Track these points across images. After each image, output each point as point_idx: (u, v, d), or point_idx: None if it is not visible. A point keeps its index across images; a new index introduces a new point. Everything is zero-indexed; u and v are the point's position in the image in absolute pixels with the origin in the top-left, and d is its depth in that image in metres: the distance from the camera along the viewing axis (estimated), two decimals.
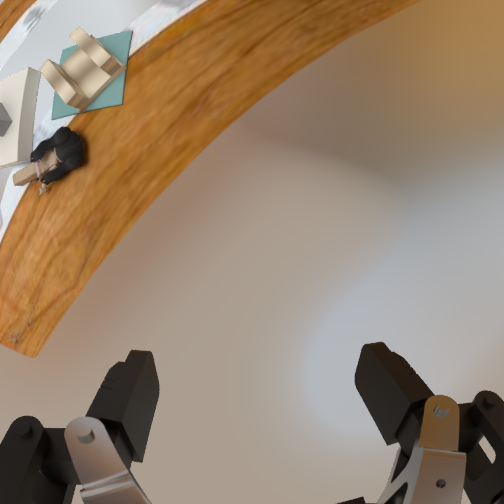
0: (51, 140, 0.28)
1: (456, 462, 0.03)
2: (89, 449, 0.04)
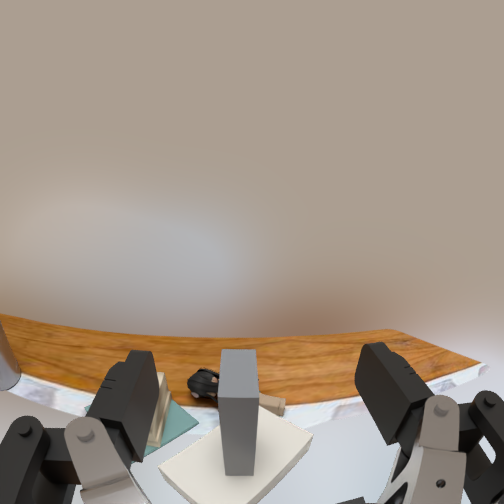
0: (206, 383, 0.36)
1: (456, 462, 0.03)
2: (89, 449, 0.04)
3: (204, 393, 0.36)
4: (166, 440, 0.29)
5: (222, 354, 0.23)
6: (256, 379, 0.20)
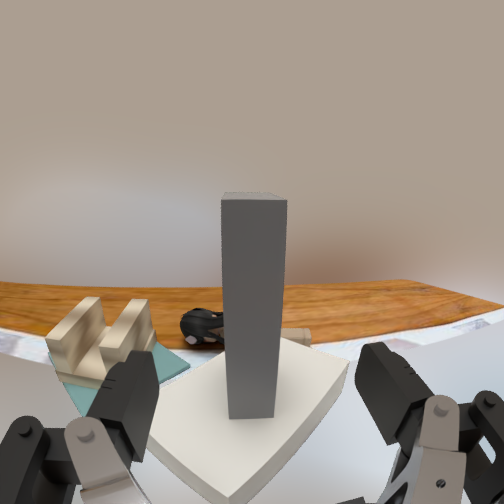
0: (207, 318, 0.30)
1: (456, 462, 0.03)
2: (89, 449, 0.04)
3: (205, 332, 0.29)
4: None
5: (226, 193, 0.17)
6: (277, 196, 0.15)
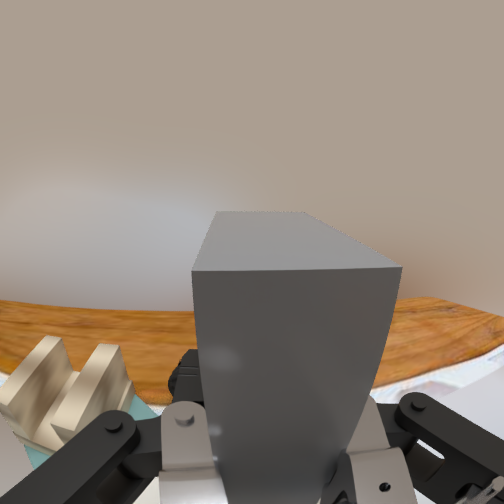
0: None
1: (393, 461, 0.04)
2: (195, 432, 0.05)
3: None
4: None
5: (218, 214, 0.09)
6: (345, 236, 0.06)
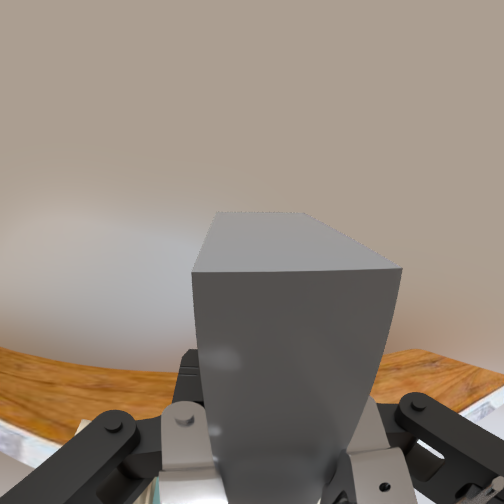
0: None
1: (393, 461, 0.04)
2: (195, 432, 0.05)
3: None
4: None
5: (218, 215, 0.09)
6: (345, 237, 0.06)
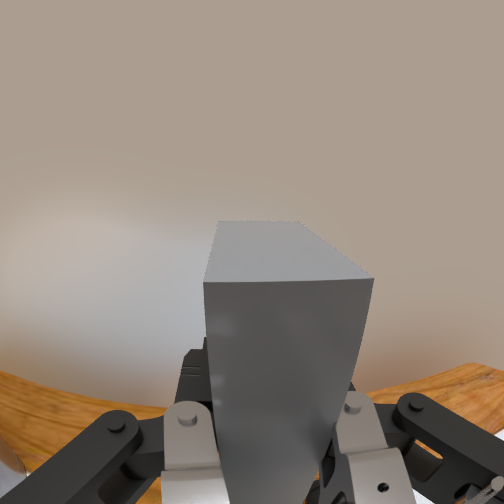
0: None
1: (391, 461, 0.04)
2: (198, 431, 0.05)
3: None
4: None
5: (220, 224, 0.09)
6: (331, 248, 0.07)
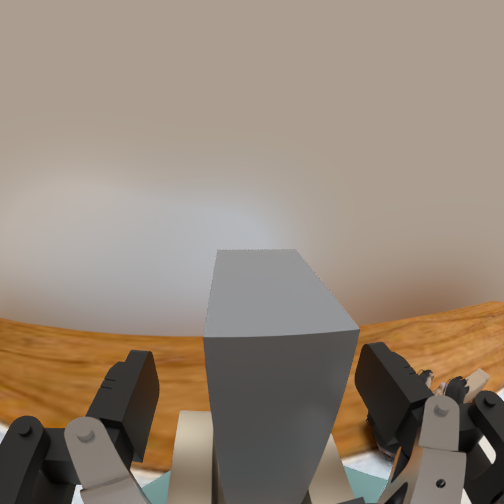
0: None
1: (456, 462, 0.03)
2: (89, 449, 0.04)
3: None
4: None
5: (219, 255, 0.10)
6: (324, 289, 0.07)
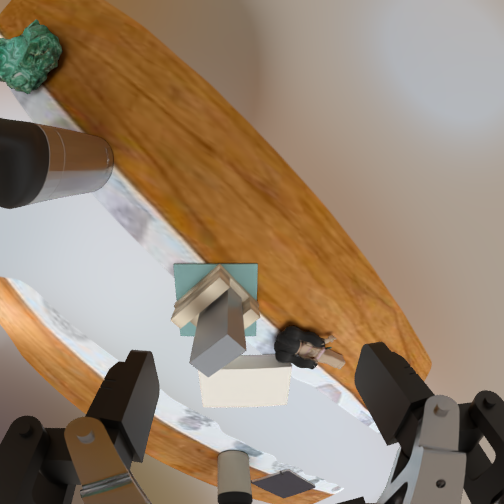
0: (292, 361, 0.44)
1: (456, 462, 0.03)
2: (89, 449, 0.04)
3: None
4: None
5: (222, 338, 0.29)
6: (220, 368, 0.30)
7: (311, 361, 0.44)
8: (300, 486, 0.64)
